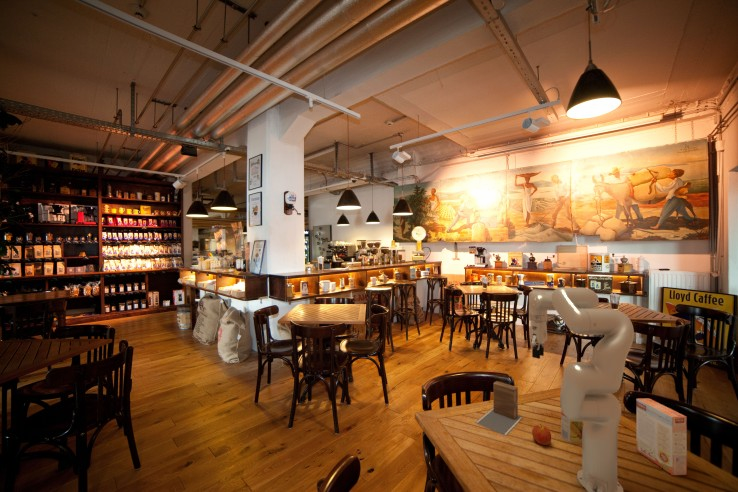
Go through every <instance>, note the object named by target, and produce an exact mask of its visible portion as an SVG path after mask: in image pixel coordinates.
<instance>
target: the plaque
mask: <svg viewBox="0 0 738 492" xmlns="http://www.w3.org/2000/svg"><path fill="white" fill-rule="evenodd" d="M518 389H519V387H517V386H514V385H511V384H508V383H505V382H501V381H498V380H496V381H494V382H493V407H494V412H495V413H498V414H500V415H503V416H506V417H508V418H511V419H513V420H515V419H516V418H517V417H518V416H519V415H518V414H519V408H518V404H519V403H518V397H519V396H518V395H519V394H518V393H519V391H518Z"/></svg>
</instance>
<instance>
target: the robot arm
mask: <svg viewBox="0 0 738 492" xmlns="http://www.w3.org/2000/svg"><path fill="white" fill-rule="evenodd" d="M598 304H599V296H598V294H597V293H596V292H595V291H594V290H592V289H590V288H587V287H568V286H567V287H558V288H555V289H554V290H553V291H552V293H546V291H545V292H544V291H541V290H540V291H539V290H533V291H530V292H529V293H528V320H529V321H530V327H529V342H531V350H532V351H531V353H532V354H531V357H532V358H533V359H538V360H539V359H541V356H542V357H543V356H544V355H545V351H544V350H545V349H544V348H545V345H544V344H545V343H546V342H547V341H548V327H547V323H548V311H556V313H557V314H558V316H559V317H560V318H561V319H562V321H563V323H564V324H565V325H566V327H567V328H568V329H569V331H571V332H573V334H576V335H595V336H596V335H597V336H599V335H601V336H602V335H603V336H604V337H602V338H601V339H600V340H599V341H598V342H597V343H596V344H595V346H594V348H593V350H592V355H591V359H590V360H589V361H574V362H570V363H569V364H567V365H566V366H565V368H564V370H563V375H562V380H561V388H560V396H559V405H560V409H561V410H562V412H563V414H564V415H565V416H566V417H567V418H569V419H571V420H574V421H583V430H582V443H581V445H582V446H581V447H582V449H581V451H582V454H581V455H582V457H581V458H582V462H581V463H582V464H581V466H582V467H581V468H582V469H579V470H578V471H577V474H576V477H577V481H578V483H579V484H580V485H581V486H582V487H583V489H585V490H586V491H587V492H624V488H623V486H622V485H621V483H620V482H619V481H618V432H619V424H620V420H621V416H622V407H621V404H620V401H619V400H618V398H617V396H615V395H614V393H617V392H618V391H619V390H620V388H621V384H622V380H623V376H624V371H625V366H626V360H627V357H628V354H629V352H630V350H631V347H632V345H633V342H634V337H635V331H634V326H633V323H632V320H631V319H630V318H629V316H628V315H627V314H626V313H625V312H624V311H623V312H622V311H621V310H618V309H613V308H598V307H597V306H598ZM596 307H597V308H596Z"/></svg>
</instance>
